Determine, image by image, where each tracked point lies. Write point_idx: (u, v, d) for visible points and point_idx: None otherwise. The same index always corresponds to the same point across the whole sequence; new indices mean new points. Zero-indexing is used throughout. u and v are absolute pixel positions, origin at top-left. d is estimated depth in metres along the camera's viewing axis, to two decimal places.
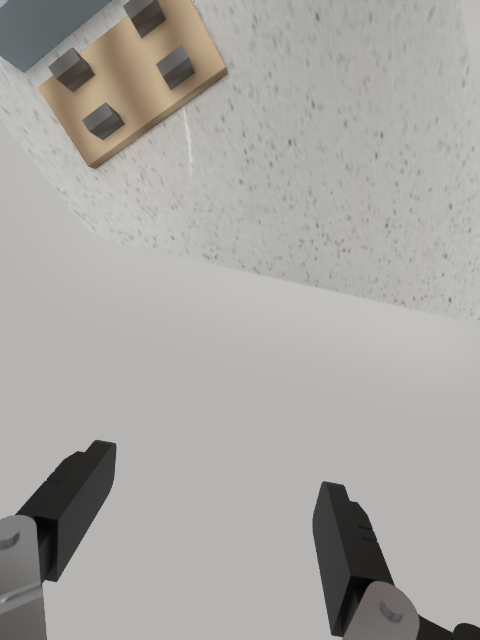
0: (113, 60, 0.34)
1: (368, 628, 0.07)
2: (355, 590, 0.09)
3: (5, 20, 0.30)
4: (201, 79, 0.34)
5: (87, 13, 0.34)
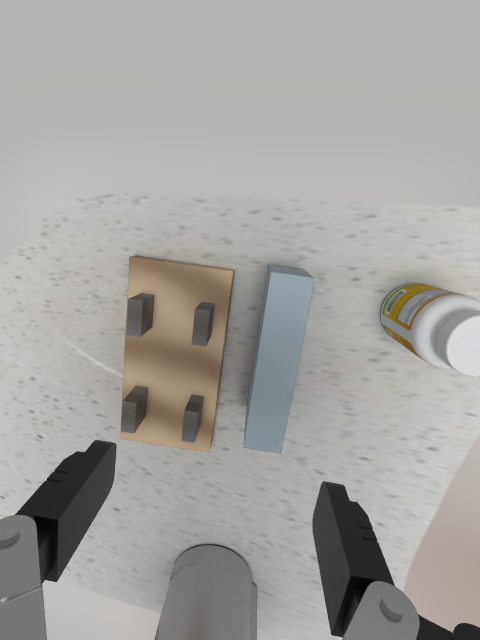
0: (195, 359, 0.30)
1: (368, 628, 0.07)
2: (355, 590, 0.09)
3: (264, 311, 0.24)
4: None
5: (253, 364, 0.31)
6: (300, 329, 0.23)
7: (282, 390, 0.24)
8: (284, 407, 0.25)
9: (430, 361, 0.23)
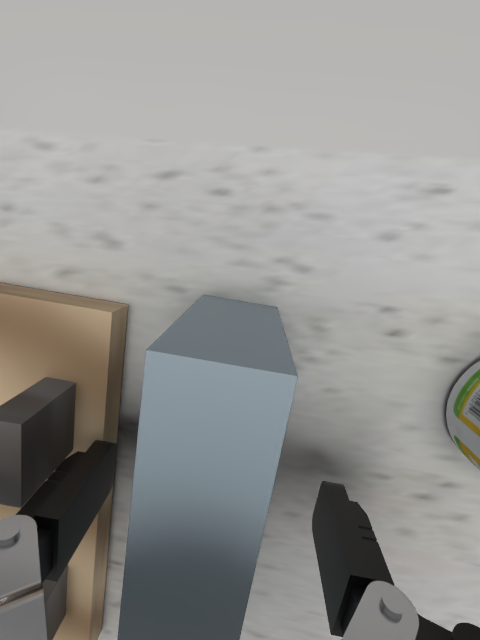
0: None
1: (368, 627, 0.07)
2: (355, 590, 0.09)
3: None
4: None
5: None
6: (249, 528, 0.07)
7: None
8: None
9: None
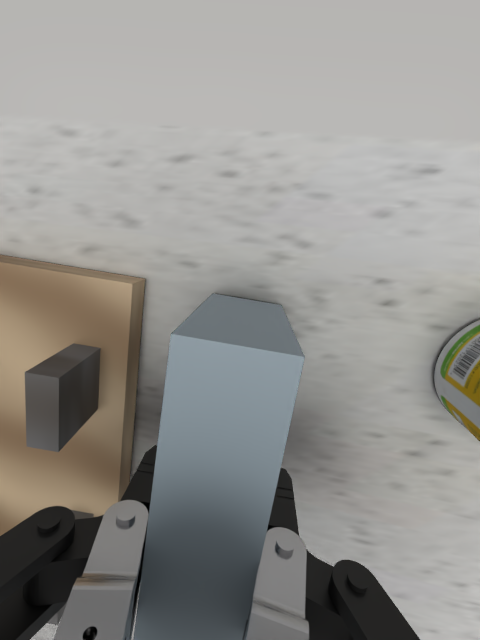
0: (71, 449, 0.15)
1: (271, 574, 0.08)
2: None
3: None
4: None
5: None
6: (261, 497, 0.08)
7: None
8: None
9: None
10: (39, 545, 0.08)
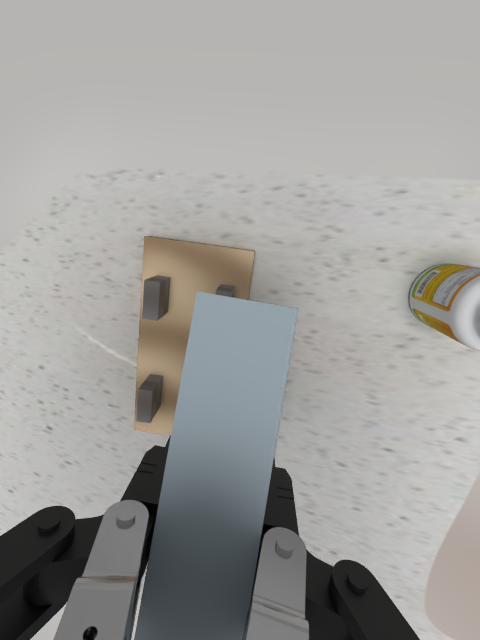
0: None
1: (271, 574, 0.08)
2: None
3: None
4: None
5: None
6: (266, 435, 0.09)
7: (219, 608, 0.09)
8: None
9: (471, 344, 0.21)
10: (39, 545, 0.08)
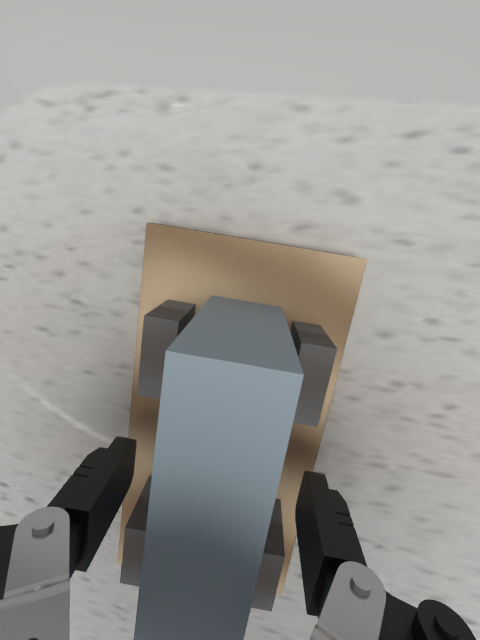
0: None
1: (340, 608, 0.08)
2: (328, 570, 0.09)
3: None
4: (126, 524, 0.17)
5: None
6: (259, 513, 0.08)
7: None
8: None
9: None
10: None
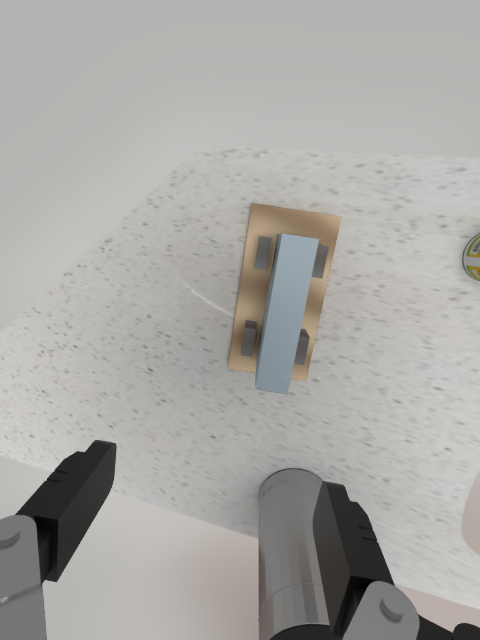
0: None
1: (368, 628, 0.07)
2: (355, 590, 0.09)
3: (275, 269, 0.28)
4: (233, 346, 0.36)
5: (262, 323, 0.35)
6: (306, 284, 0.27)
7: (289, 338, 0.29)
8: (290, 353, 0.29)
9: None
10: None
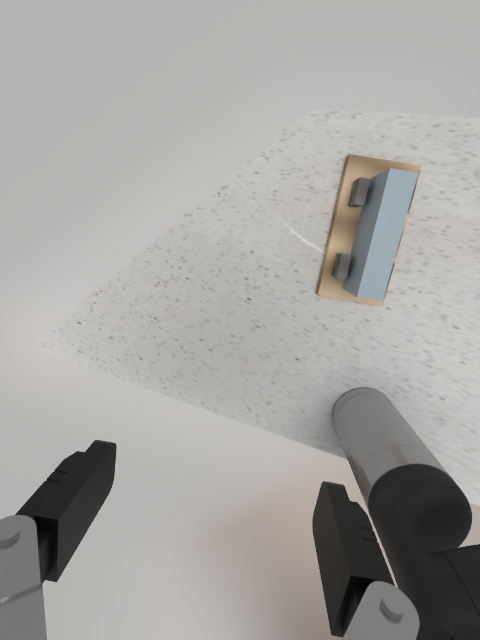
0: None
1: (368, 628, 0.07)
2: (355, 590, 0.09)
3: (378, 199, 0.36)
4: (324, 275, 0.44)
5: (352, 254, 0.43)
6: (405, 209, 0.35)
7: (388, 254, 0.36)
8: (388, 266, 0.37)
9: None
10: None
